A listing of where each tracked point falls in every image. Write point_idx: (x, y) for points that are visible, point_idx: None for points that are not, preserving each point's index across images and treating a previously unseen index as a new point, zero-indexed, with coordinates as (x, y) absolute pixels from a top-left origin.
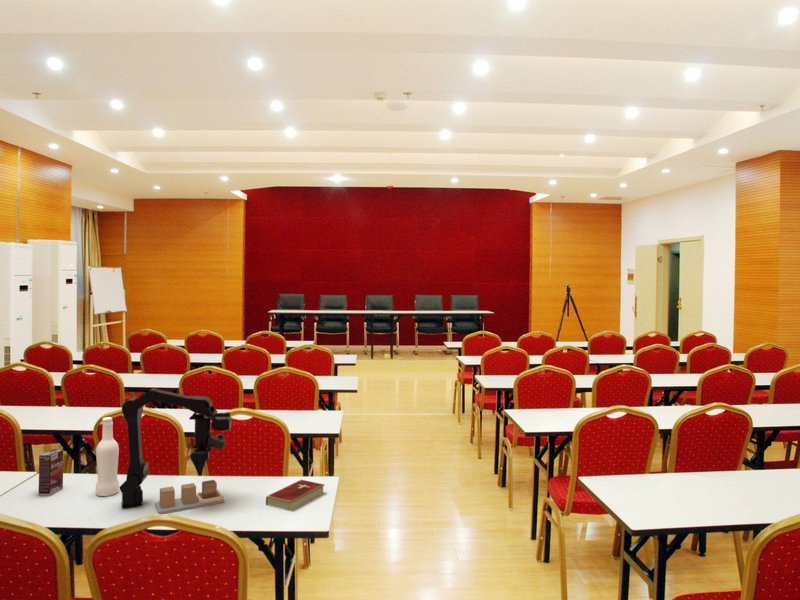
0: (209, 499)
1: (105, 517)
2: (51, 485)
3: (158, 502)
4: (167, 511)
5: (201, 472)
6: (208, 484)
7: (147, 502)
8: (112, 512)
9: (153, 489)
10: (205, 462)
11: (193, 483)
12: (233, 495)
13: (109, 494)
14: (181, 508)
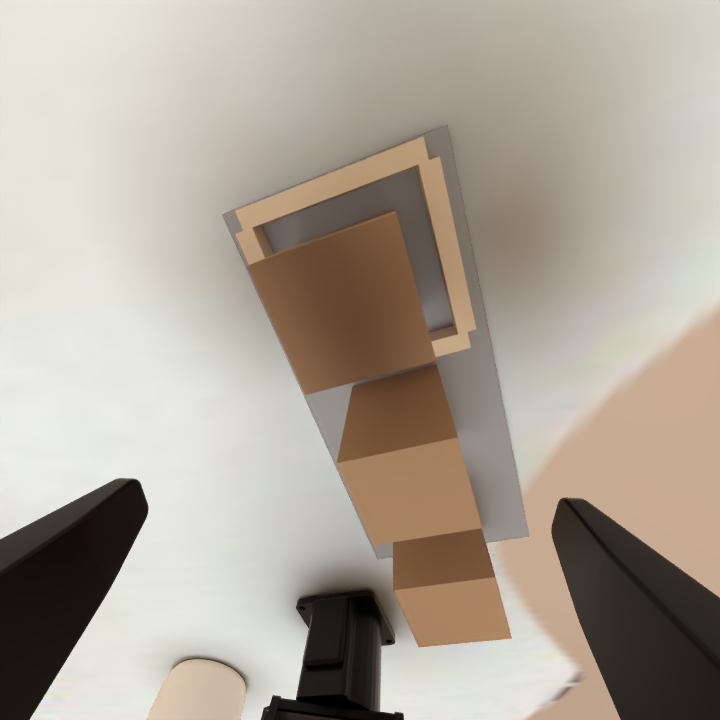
0: (463, 269)
1: (471, 668)
2: None
3: (378, 546)
4: (520, 498)
5: (638, 552)
6: (422, 318)
7: (330, 572)
8: (422, 656)
9: (157, 565)
10: (37, 536)
11: (351, 464)
12: (265, 48)
13: (239, 681)
14: (508, 437)
